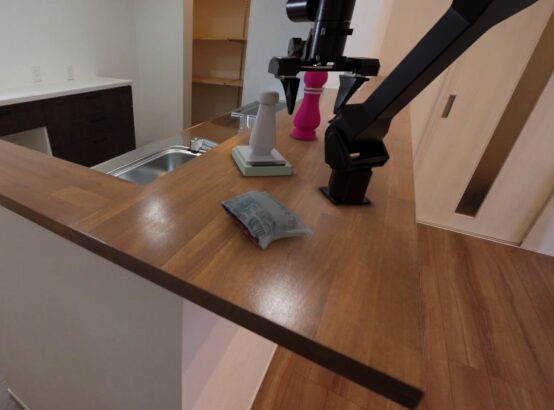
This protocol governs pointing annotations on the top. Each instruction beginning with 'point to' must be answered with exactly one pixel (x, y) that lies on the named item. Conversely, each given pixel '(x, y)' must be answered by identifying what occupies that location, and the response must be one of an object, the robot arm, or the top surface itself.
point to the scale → (260, 162)
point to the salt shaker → (265, 124)
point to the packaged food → (264, 218)
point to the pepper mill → (309, 106)
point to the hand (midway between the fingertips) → (312, 114)
